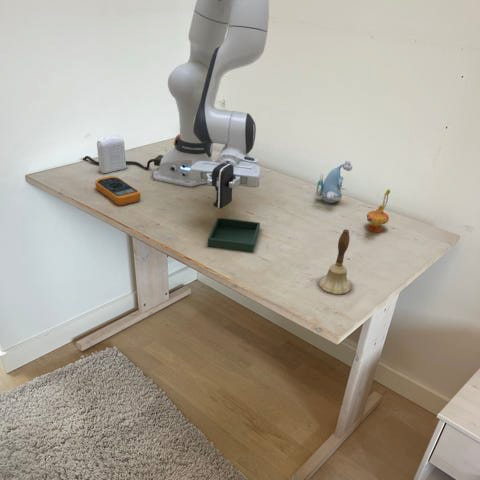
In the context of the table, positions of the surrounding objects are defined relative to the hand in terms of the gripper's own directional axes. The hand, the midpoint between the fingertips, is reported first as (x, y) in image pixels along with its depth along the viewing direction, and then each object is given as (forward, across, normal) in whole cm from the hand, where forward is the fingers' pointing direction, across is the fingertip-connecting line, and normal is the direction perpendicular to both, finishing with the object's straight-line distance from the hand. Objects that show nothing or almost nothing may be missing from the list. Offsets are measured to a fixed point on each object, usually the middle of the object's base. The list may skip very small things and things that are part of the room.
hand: (220, 184), depth 137 cm
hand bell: (+18, +34, +17) cm, 42 cm away
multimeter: (-22, -39, +17) cm, 48 cm away
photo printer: (-43, -48, +17) cm, 67 cm away
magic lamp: (-18, +46, +17) cm, 53 cm away
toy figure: (-36, +33, +17) cm, 52 cm away
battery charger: (-1, 0, +7) cm, 7 cm away
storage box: (-2, +4, +17) cm, 17 cm away
